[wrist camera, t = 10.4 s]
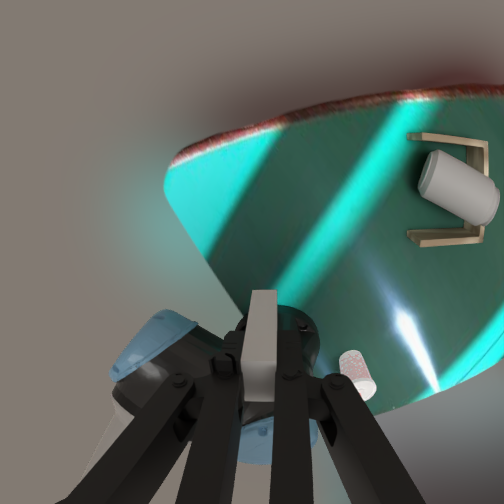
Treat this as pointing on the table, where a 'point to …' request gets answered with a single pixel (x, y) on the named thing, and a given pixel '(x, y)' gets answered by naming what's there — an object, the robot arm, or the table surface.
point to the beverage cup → (357, 373)
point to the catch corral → (469, 233)
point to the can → (459, 188)
